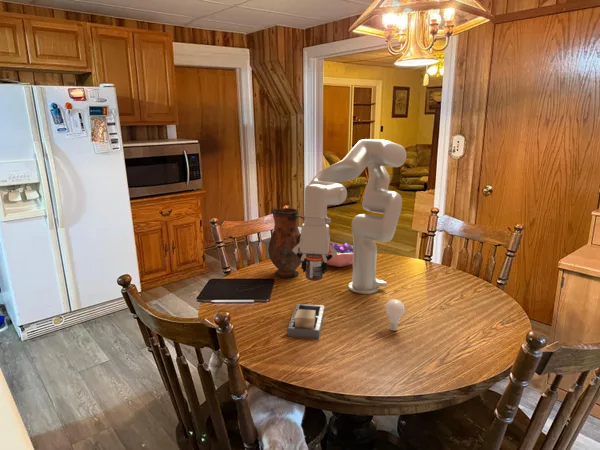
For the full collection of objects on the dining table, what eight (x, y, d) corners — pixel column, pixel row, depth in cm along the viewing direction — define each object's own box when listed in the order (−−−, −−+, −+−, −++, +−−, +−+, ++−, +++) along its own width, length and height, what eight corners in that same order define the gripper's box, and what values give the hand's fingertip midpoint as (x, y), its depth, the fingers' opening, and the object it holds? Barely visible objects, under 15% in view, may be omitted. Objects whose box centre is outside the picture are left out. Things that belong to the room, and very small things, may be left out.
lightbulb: (404, 327, 138) (406, 297, 135) (402, 336, 132) (404, 305, 129) (385, 324, 140) (386, 294, 137) (382, 333, 134) (384, 302, 131)
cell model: (322, 257, 208) (322, 236, 205) (361, 261, 203) (362, 239, 200) (314, 269, 192) (314, 246, 189) (356, 273, 187) (357, 249, 184)
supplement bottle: (304, 275, 144) (305, 244, 142) (321, 275, 145) (322, 244, 142) (306, 281, 139) (306, 249, 136) (323, 281, 139) (324, 249, 136)
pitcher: (285, 265, 197) (284, 204, 190) (319, 275, 184) (320, 211, 176) (260, 274, 185) (258, 210, 178) (295, 286, 172) (295, 217, 164)
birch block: (315, 326, 136) (315, 310, 135) (313, 335, 131) (313, 318, 129) (297, 325, 137) (297, 309, 136) (294, 334, 132) (294, 317, 130)
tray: (324, 315, 146) (324, 305, 145) (318, 341, 129) (318, 330, 128) (296, 313, 148) (296, 303, 147) (287, 339, 130) (287, 328, 130)
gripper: (341, 220, 139) (339, 269, 143) (292, 217, 142) (291, 266, 146) (340, 224, 132) (338, 277, 136) (288, 222, 135) (287, 273, 139)
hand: (314, 271), depth 141 cm, fingers closed on supplement bottle, 6 cm apart
